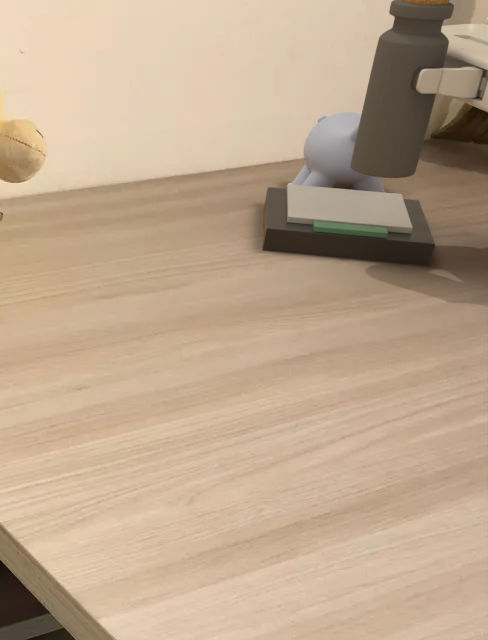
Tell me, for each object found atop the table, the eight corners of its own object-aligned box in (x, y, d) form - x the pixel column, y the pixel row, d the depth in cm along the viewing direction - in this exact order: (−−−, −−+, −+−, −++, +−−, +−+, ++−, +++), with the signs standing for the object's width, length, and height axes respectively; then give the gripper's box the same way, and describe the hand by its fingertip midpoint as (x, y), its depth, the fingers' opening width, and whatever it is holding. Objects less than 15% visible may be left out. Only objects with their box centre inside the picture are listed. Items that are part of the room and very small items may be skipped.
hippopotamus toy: (369, 179, 125) (391, 92, 119) (394, 217, 114) (419, 121, 108) (280, 174, 126) (297, 87, 120) (295, 211, 114) (314, 116, 108)
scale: (412, 223, 112) (420, 194, 110) (427, 269, 101) (437, 237, 99) (263, 209, 114) (268, 181, 113) (261, 253, 103) (267, 221, 101)
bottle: (378, 181, 92) (427, -18, 83) (336, 165, 96) (377, -27, 87) (429, 175, 94) (481, -20, 85) (385, 159, 98) (431, -28, 89)
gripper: (598, 137, 86) (445, 140, 84) (471, 87, 102) (339, 88, 100) (629, 50, 82) (469, 51, 80) (492, 12, 98) (355, 12, 96)
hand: (396, 71), depth 90 cm, fingers closed on bottle, 6 cm apart
